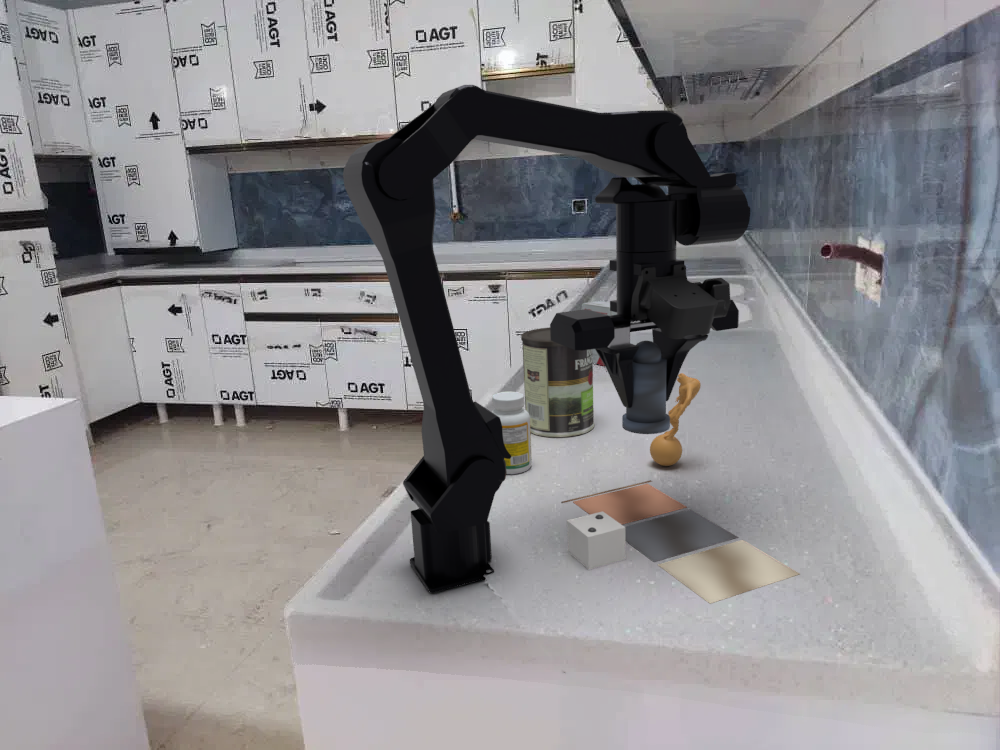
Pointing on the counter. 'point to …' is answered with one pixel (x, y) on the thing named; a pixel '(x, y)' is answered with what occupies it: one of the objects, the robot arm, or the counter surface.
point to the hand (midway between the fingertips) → (645, 403)
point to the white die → (596, 540)
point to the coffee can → (557, 386)
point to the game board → (687, 543)
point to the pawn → (648, 392)
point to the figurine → (674, 424)
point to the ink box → (604, 309)
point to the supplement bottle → (514, 430)
